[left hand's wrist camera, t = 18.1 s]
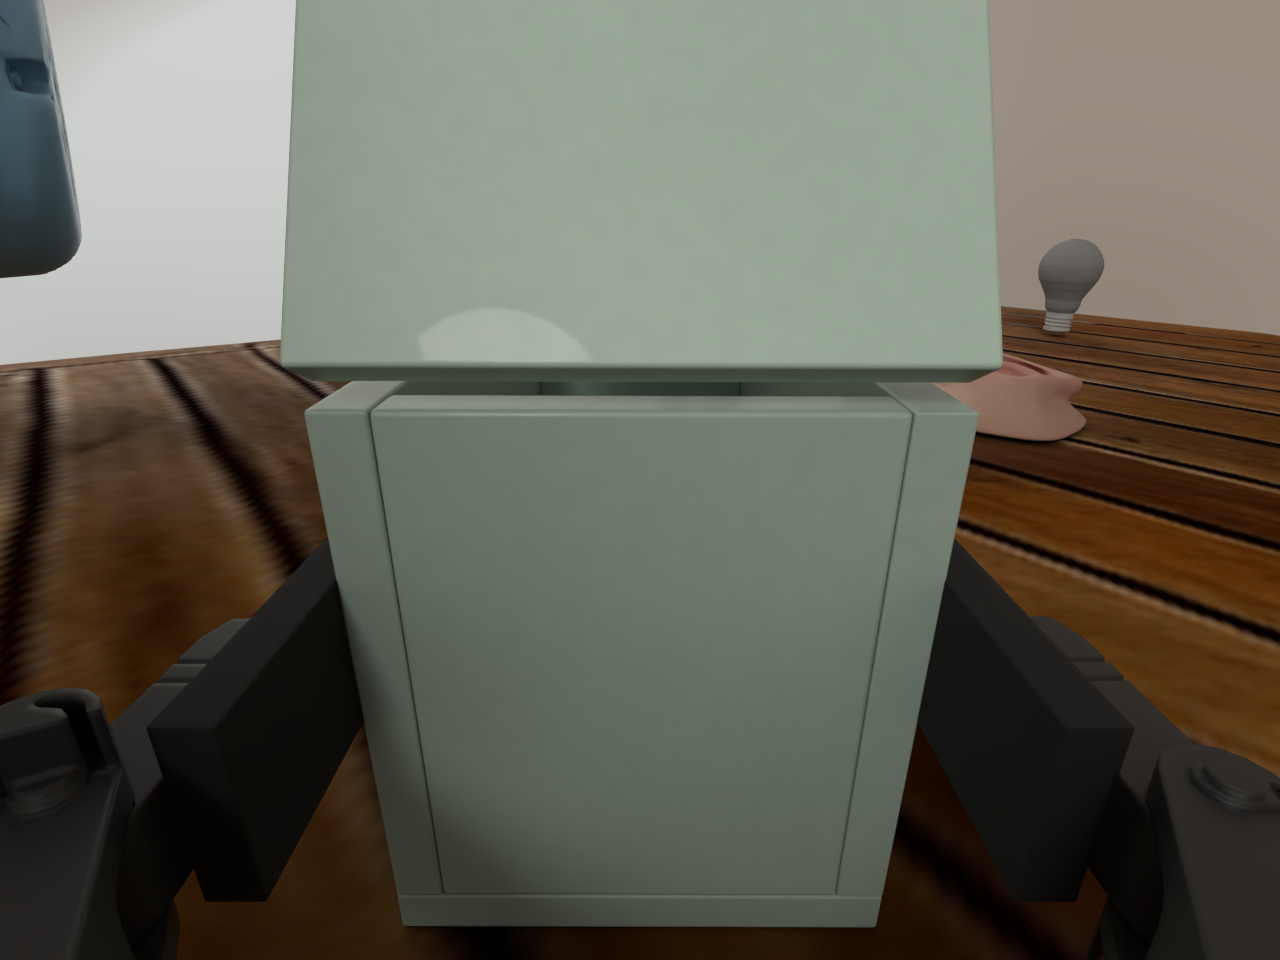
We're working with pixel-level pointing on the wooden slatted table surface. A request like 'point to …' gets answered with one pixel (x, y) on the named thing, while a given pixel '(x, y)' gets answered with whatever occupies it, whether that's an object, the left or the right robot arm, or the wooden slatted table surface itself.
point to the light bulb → (1068, 280)
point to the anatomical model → (1022, 401)
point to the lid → (642, 191)
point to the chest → (640, 638)
